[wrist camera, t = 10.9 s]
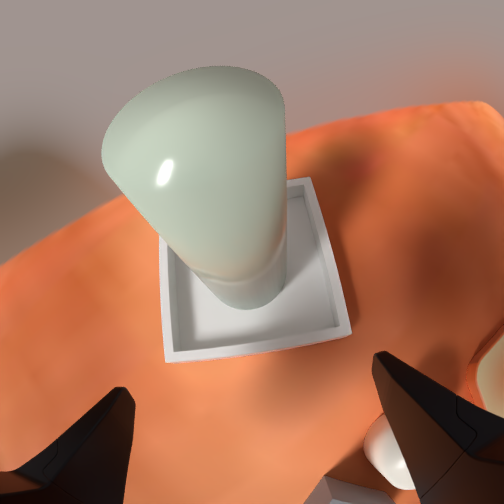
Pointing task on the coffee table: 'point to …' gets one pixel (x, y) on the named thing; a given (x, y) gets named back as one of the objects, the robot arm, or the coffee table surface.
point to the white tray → (264, 318)
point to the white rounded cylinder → (387, 454)
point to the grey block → (345, 493)
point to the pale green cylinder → (210, 176)
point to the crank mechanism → (488, 375)
